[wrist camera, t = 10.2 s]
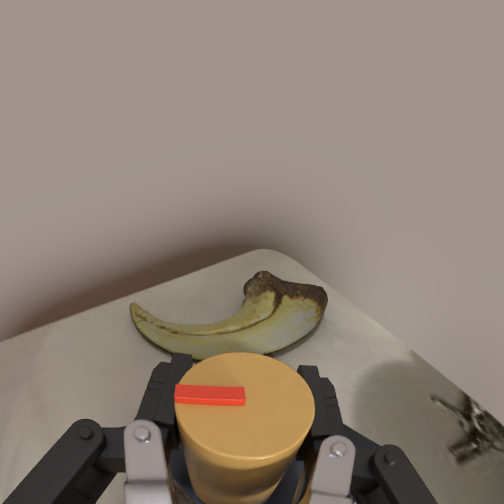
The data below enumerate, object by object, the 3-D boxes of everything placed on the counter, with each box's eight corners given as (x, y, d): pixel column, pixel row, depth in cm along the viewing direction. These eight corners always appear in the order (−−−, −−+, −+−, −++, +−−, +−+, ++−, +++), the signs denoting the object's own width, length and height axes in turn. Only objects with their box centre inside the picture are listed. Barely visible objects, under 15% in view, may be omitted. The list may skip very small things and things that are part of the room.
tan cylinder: (269, 444, 13) (301, 344, 10) (280, 510, 9) (334, 446, 6) (191, 444, 13) (180, 342, 10) (190, 512, 9) (166, 452, 6)
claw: (292, 284, 36) (296, 260, 34) (345, 333, 28) (354, 306, 26) (131, 315, 27) (126, 287, 26) (149, 391, 19) (141, 363, 18)
